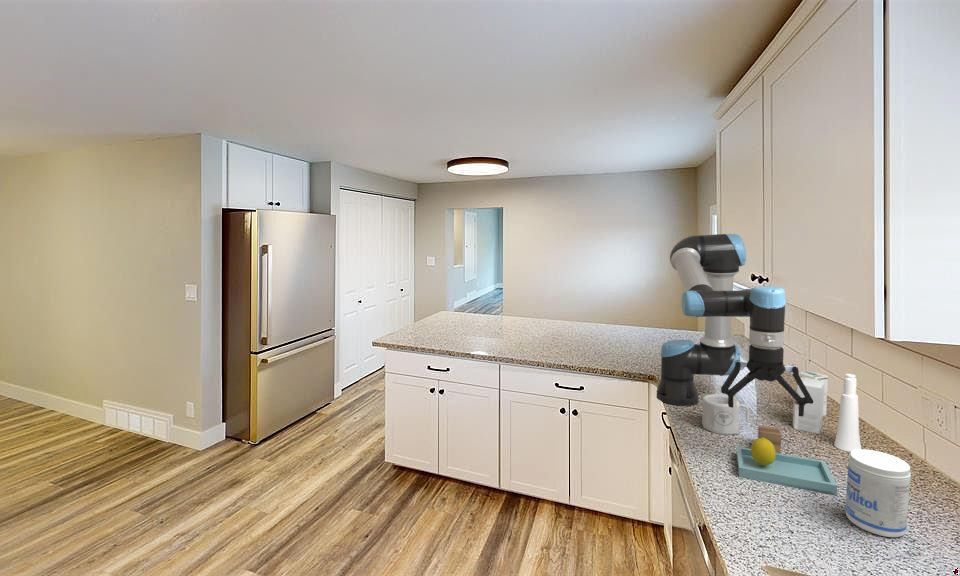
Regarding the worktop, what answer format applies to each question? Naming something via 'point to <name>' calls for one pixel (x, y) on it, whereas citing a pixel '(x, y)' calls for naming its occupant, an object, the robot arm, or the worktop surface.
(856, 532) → the worktop surface
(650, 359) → the worktop surface
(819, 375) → the syrup box
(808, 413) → the skincare box
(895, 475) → the supplement tub
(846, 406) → the cosmetic bottle
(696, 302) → the robot arm
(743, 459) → the tray
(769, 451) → the lemon
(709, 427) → the mug
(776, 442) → the walnut block
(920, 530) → the worktop surface
